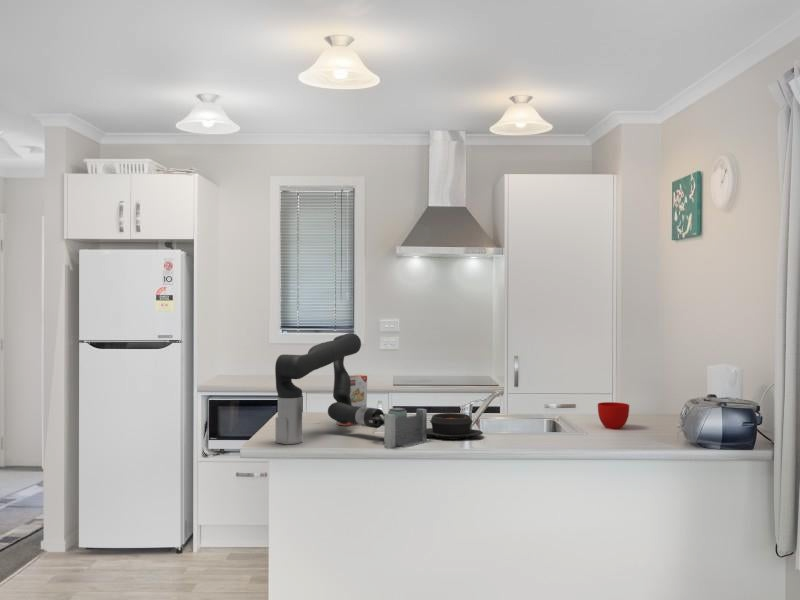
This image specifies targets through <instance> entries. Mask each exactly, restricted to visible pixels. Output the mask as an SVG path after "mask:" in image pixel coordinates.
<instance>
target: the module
mask: <svg viewBox="0 0 800 600" xmlns="http://www.w3.org/2000/svg"><path fill="white" fill-rule="evenodd" d="M406 409H407V408H402V407H392V408H389V410H388V411H387V414H393V415H395V419H396V418H401V417H407V416H408V413H407V412H408V411H407V410H406Z"/></svg>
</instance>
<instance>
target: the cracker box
mask: <svg viewBox="0 0 800 600" xmlns="http://www.w3.org/2000/svg"><path fill="white" fill-rule="evenodd" d="M349 377H350V380H351V389H350V399H351V404H352V406H355V407H368V406H367V404H368V403H367V402H368V399H367V398H368V375H366V374H353V375H349ZM336 425H338V426H343V427H347V426H353V425H354V424H352V423H350V422H348V423H347V424H341V423H339V422H337V421H336Z"/></svg>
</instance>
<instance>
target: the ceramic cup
mask: <svg viewBox="0 0 800 600" xmlns="http://www.w3.org/2000/svg"><path fill="white" fill-rule="evenodd" d="M597 413H598V419H599V420H600V422H601V424H602V425H603V427H606V428H605V429H608V428H611V429H610V430H620V429H619V428H621V429H622V428H623V427H624V426H625V424H626V423H627V422H628V419H629V415H630V414H629V413H630V405H629V404H628V403H624V402H616V401H615V402H614V401H613V402H612V401H608V402H607V401H605V402H599V403H597Z"/></svg>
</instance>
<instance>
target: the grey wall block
mask: <svg viewBox="0 0 800 600" xmlns="http://www.w3.org/2000/svg"><path fill="white" fill-rule="evenodd" d="M427 411H428V410H427V409H425V408H416V414H413V415H407V417H401V418H396V419H395V415H393V414H388V413H385V414H386V415H384V426H383V427H384V428H383V430H384V432H383V433H384V437H383V438H384V443H383V444H384V448H387V449H394V448H398V447H401V448H408V447H413V446H417V445H420V444H425V443H426V444H427V443H428V442H429V440H428V439H427V436H428V435H427V423H428V421H427V420H428V419H427V418H428V417H427V416H428V415H427V413H428V412H427Z"/></svg>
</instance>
